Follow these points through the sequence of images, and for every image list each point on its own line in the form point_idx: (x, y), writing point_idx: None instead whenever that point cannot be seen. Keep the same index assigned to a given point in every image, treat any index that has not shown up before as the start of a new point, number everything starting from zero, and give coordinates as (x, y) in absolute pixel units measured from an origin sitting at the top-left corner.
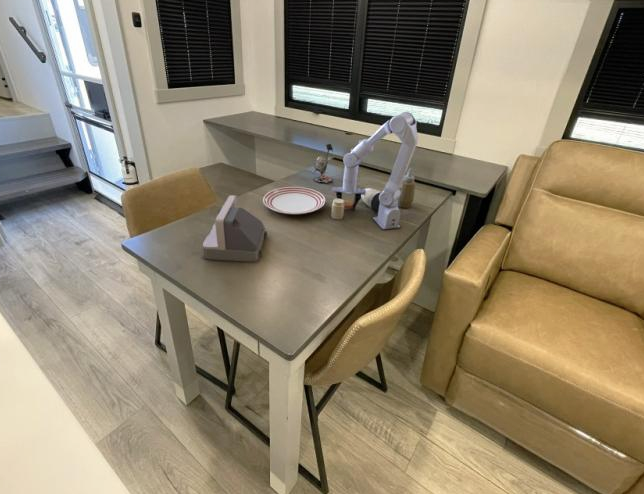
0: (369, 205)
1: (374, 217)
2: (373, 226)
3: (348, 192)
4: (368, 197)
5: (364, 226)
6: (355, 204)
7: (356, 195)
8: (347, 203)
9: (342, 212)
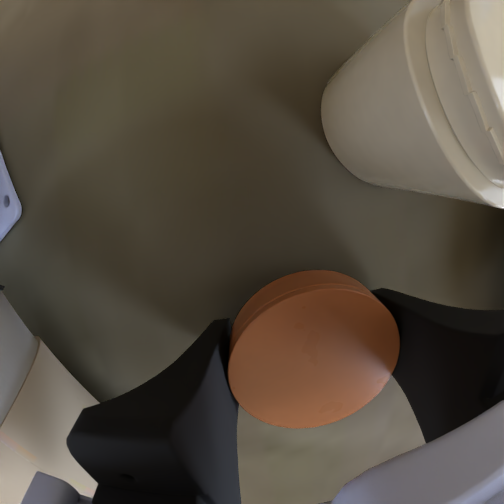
0: (36, 354)
1: (10, 213)
2: (23, 74)
3: (497, 487)
4: (32, 446)
5: (85, 29)
6: (196, 353)
7: (176, 487)
8: (319, 353)
9: (357, 51)
